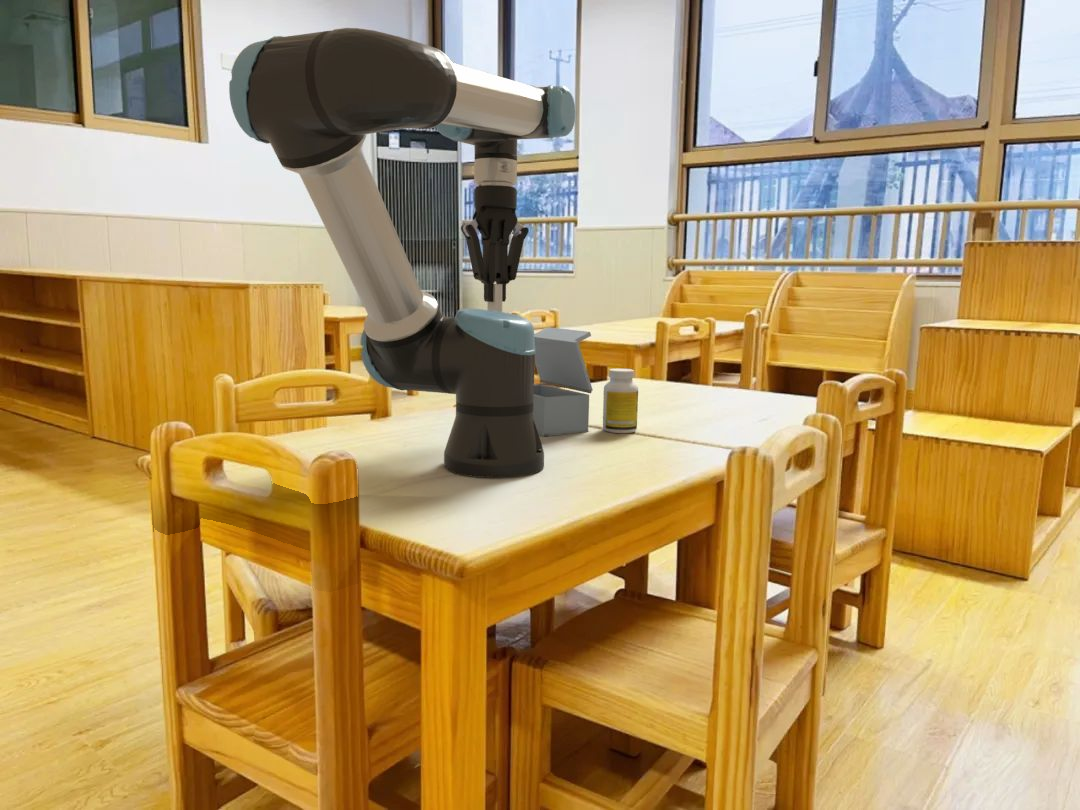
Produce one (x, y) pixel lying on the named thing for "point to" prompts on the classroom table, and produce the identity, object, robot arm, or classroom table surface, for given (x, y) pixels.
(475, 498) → the classroom table surface
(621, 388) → the pill bottle
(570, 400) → the box
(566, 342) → the lid
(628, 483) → the classroom table surface
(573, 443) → the classroom table surface
